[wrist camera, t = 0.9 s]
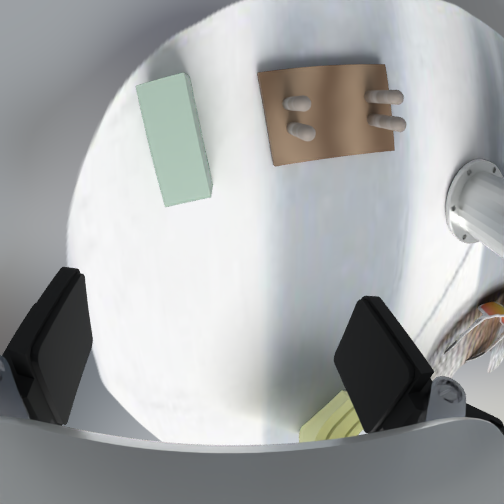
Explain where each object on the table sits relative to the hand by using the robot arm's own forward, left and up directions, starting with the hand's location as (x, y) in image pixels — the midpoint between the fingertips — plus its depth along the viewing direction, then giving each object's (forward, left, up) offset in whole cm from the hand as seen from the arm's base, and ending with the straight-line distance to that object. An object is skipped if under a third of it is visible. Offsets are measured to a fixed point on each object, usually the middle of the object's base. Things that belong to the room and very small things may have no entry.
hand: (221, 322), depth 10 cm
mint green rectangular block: (+4, -4, -26) cm, 26 cm away
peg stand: (-12, -4, -25) cm, 28 cm away
